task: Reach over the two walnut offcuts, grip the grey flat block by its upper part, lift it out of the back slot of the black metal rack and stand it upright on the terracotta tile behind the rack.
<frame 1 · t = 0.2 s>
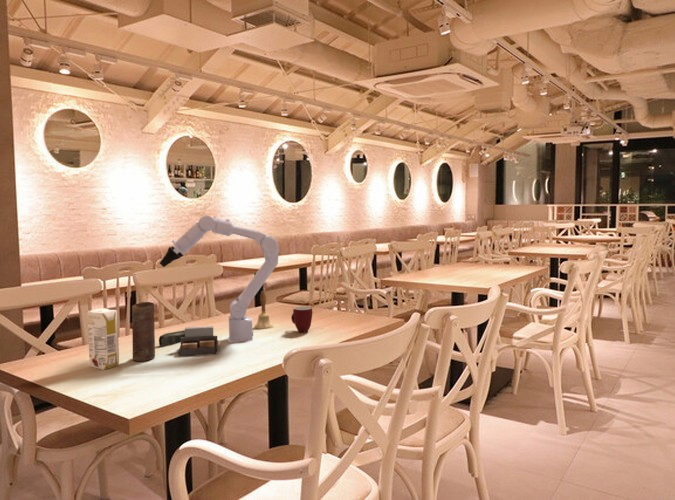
hand: (162, 264, 204), 31 cm above the table, tool tilted 45°, fingers open, 7 cm apart
grey flat block: (199, 348, 197), point 1 cm above the table, touching rack
juice carton: (104, 366, 179), on the table
candle: (144, 361, 185), on the table
offcut 1: (190, 353, 191), point 1 cm above the table, touching rack
tile: (201, 345, 204), on the table
offcut 2: (207, 352, 192), point 1 cm above the table, touching rack
hand bell: (263, 327, 235), on the table
rack: (199, 352, 194), on the table
mug: (300, 331, 226), on the table
mobile phone: (173, 345, 206), on the table
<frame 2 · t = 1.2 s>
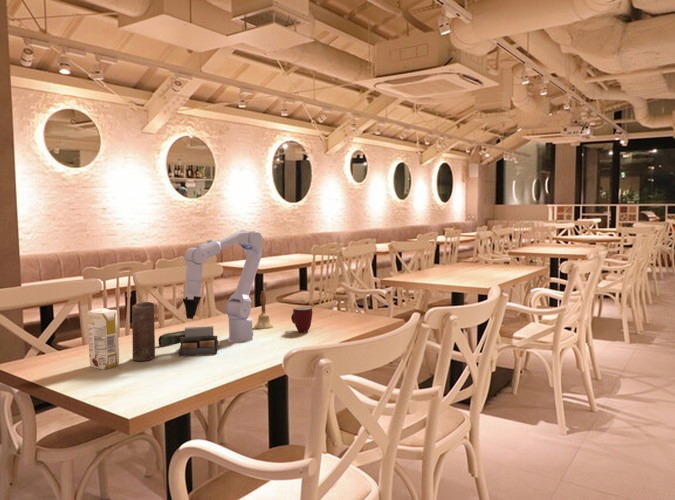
hand: (190, 317, 196), 13 cm above the table, tool pointing down, fingers open, 7 cm apart
nothing on the table moved.
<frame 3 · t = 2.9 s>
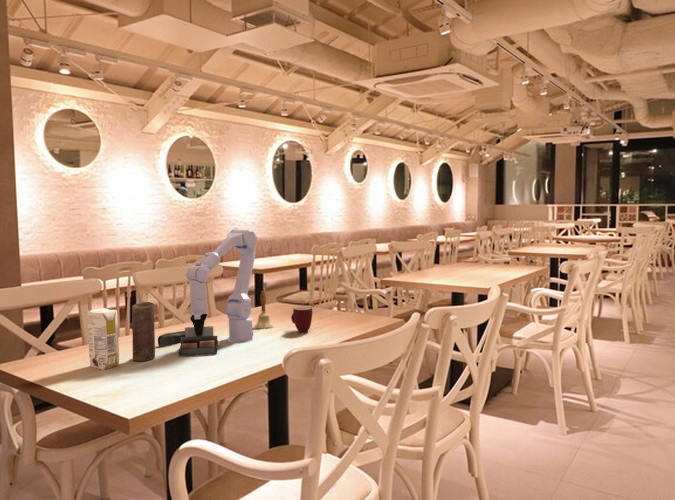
hand: (199, 334, 197), 6 cm above the table, tool pointing down, fingers closed on grey flat block, 2 cm apart
grey flat block: (199, 348, 197), point 1 cm above the table, touching gripper, rack
everything else where it was.
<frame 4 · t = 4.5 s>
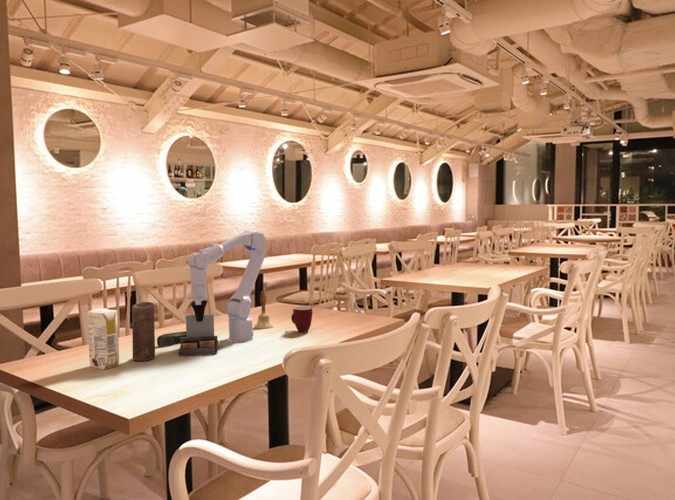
hand: (200, 320, 200), 10 cm above the table, tool pointing down, fingers closed on grey flat block, 2 cm apart
grey flat block: (200, 336, 201), point 4 cm above the table, touching gripper
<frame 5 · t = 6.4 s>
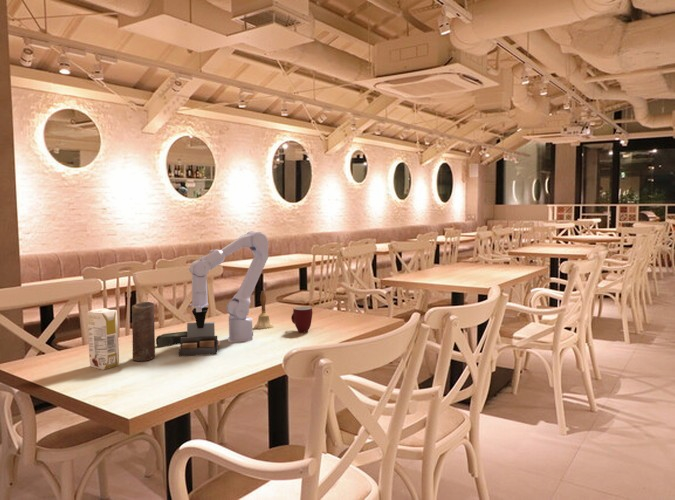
hand: (200, 327, 204), 7 cm above the table, tool pointing down, fingers closed on grey flat block, 2 cm apart
grey flat block: (201, 343, 204), point 1 cm above the table, touching gripper, tile
when the fingers open (7 cm above the table, at t = 6.4 s): grey flat block stays where it is, resting on tile.
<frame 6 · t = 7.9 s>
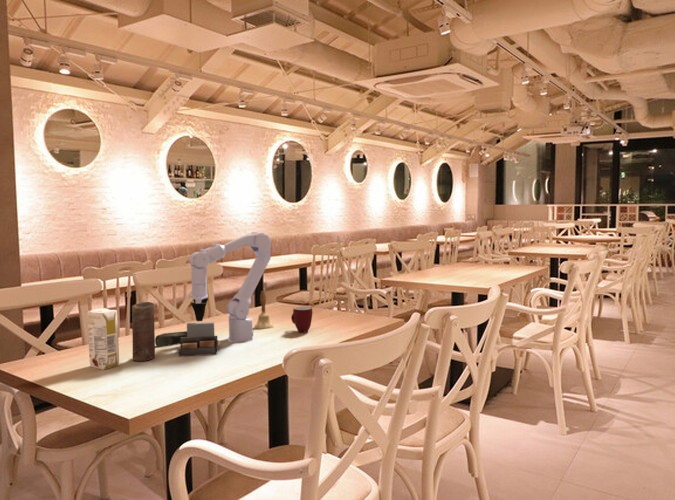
hand: (200, 319, 204), 10 cm above the table, tool pointing down, fingers open, 7 cm apart
grey flat block: (201, 343, 204), point 1 cm above the table, touching tile
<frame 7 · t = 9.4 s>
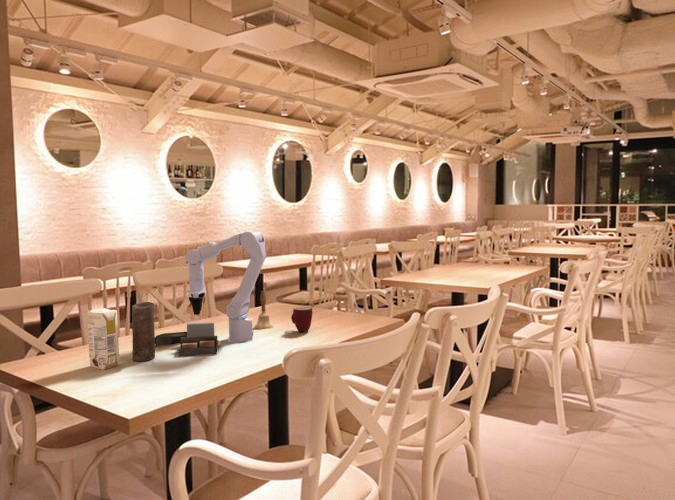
hand: (197, 312, 215), 10 cm above the table, tool pointing down, fingers open, 7 cm apart
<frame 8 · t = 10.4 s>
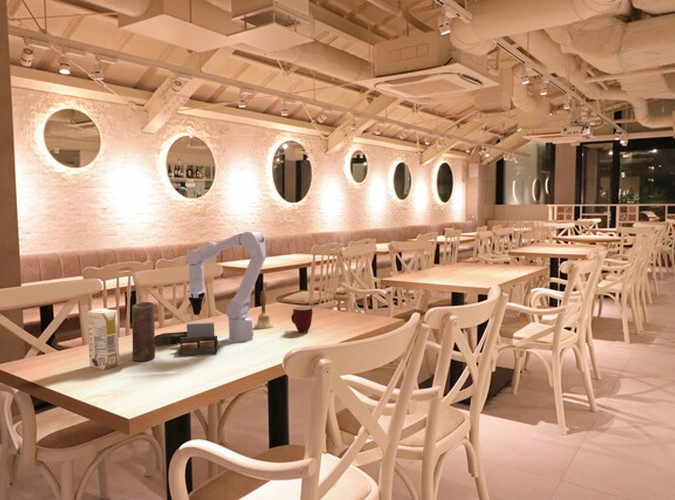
hand: (197, 312, 215), 10 cm above the table, tool pointing down, fingers open, 7 cm apart
at the end: grey flat block inside the target area (0.0 cm from its centre), point 0.6 cm above the table; grey flat block tilted 0°; the gripper is holding nothing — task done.
